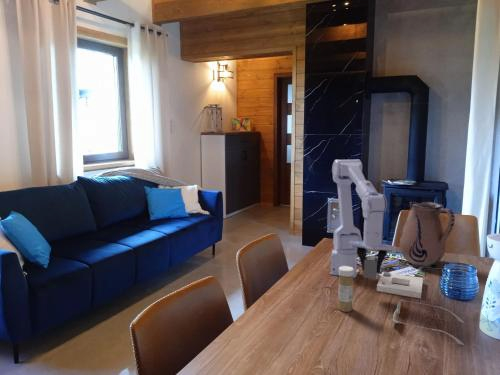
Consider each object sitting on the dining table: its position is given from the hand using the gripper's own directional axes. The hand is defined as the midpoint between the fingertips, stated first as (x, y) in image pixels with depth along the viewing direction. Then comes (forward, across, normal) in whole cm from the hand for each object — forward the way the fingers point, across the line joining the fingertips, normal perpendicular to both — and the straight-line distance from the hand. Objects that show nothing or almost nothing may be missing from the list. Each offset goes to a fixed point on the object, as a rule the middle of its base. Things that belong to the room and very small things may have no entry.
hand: (371, 270), depth 130 cm
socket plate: (+9, +8, +12) cm, 17 cm away
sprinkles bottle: (+9, -6, -13) cm, 17 cm away
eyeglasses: (+10, +18, -13) cm, 24 cm away
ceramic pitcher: (+9, +15, +41) cm, 45 cm away
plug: (+2, 0, 0) cm, 2 cm away
